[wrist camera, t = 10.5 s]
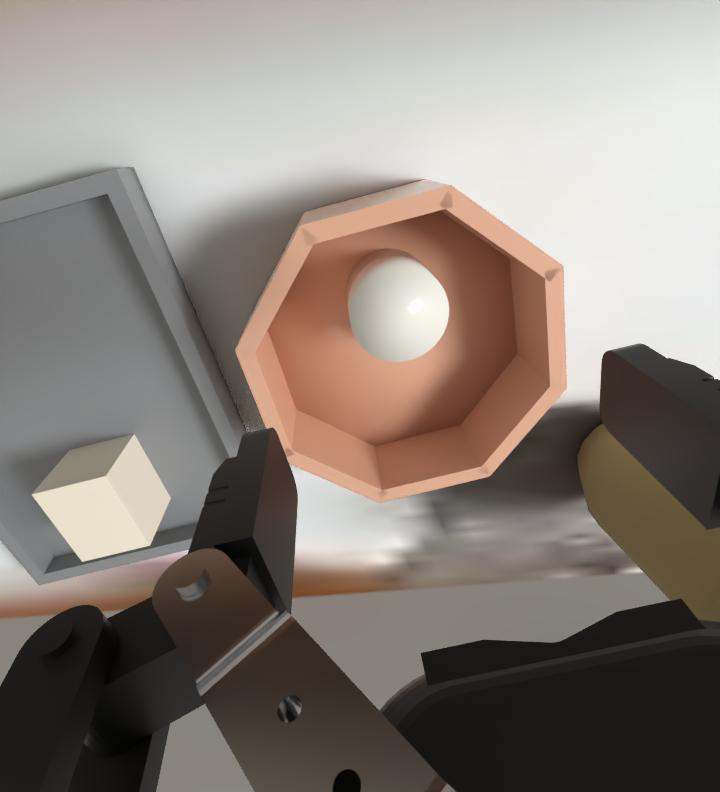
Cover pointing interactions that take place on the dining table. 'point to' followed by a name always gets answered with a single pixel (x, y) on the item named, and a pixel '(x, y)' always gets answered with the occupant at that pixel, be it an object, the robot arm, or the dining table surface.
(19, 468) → the parts tray
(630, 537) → the squeeze bottle
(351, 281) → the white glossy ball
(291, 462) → the bowl
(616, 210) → the dining table surface
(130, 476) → the sandy stone
